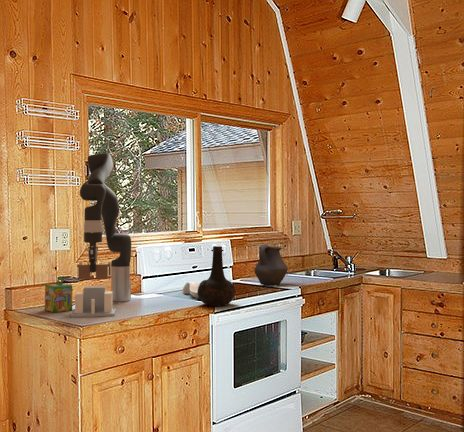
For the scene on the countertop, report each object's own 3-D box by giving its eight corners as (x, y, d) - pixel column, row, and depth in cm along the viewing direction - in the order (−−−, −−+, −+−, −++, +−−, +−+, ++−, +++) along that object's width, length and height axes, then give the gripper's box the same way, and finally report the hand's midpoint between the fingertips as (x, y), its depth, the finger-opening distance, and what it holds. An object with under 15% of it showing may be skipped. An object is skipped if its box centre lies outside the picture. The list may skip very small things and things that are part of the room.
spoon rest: (217, 298, 290) (217, 284, 290) (197, 300, 284) (197, 286, 284) (194, 293, 310) (194, 280, 310) (175, 294, 304) (175, 281, 304)
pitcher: (293, 284, 346) (293, 244, 346) (277, 288, 328) (277, 245, 328) (264, 282, 357) (264, 243, 357) (246, 286, 339) (246, 244, 339)
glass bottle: (193, 303, 273) (193, 245, 273) (227, 301, 279) (227, 244, 279) (204, 309, 256) (204, 247, 256) (240, 306, 262) (240, 246, 262)
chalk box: (44, 310, 253) (44, 277, 253) (63, 308, 259) (63, 276, 259) (53, 313, 246) (53, 279, 246) (73, 310, 253) (73, 277, 253)
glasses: (80, 276, 250) (80, 262, 250) (110, 275, 252) (110, 262, 252) (76, 279, 236) (76, 265, 236) (108, 278, 238) (108, 264, 238)
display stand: (74, 311, 249) (74, 286, 249) (115, 310, 252) (115, 285, 252) (70, 317, 236) (70, 290, 236) (114, 315, 238) (114, 289, 238)
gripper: (85, 230, 245) (85, 270, 245) (82, 231, 231) (82, 273, 231) (103, 230, 246) (103, 270, 246) (100, 231, 232) (101, 273, 232)
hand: (93, 271), depth 239 cm, fingers closed on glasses, 2 cm apart
